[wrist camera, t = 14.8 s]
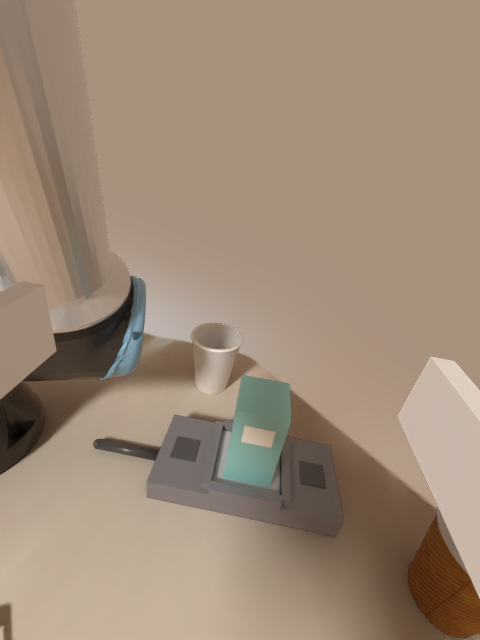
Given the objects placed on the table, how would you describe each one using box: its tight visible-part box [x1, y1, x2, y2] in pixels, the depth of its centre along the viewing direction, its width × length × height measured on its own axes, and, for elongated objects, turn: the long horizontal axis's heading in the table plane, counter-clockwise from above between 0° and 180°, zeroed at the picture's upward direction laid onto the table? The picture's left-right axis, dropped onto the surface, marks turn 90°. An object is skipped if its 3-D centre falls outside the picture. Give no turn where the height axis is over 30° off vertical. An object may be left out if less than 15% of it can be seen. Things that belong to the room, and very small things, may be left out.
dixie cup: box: [191, 323, 243, 394], centre depth 51 cm, size 8×8×10 cm
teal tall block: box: [223, 375, 291, 487], centre depth 34 cm, size 6×6×11 cm
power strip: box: [93, 415, 344, 537], centre depth 38 cm, size 31×10×4 cm, turn 82°
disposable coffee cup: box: [408, 506, 480, 638], centre depth 28 cm, size 10×10×12 cm
